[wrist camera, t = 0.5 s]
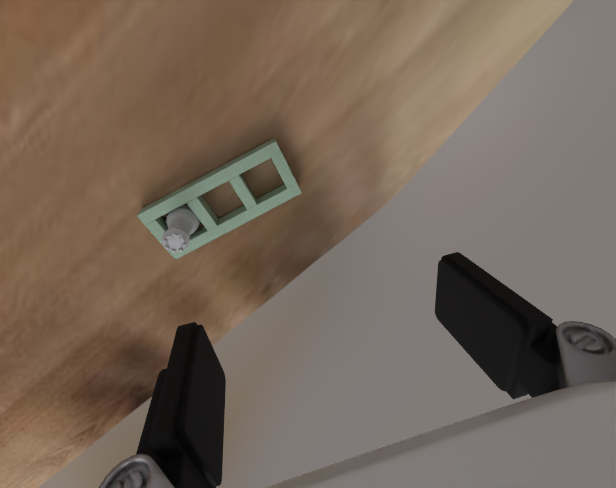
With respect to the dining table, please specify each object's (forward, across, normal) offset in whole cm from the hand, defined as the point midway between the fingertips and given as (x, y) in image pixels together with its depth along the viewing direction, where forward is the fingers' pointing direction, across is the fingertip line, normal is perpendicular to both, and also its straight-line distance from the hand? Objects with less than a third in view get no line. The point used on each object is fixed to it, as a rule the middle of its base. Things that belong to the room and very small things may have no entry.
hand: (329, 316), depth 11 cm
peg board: (+34, +7, +5) cm, 35 cm away
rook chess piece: (+34, +13, +6) cm, 37 cm away
